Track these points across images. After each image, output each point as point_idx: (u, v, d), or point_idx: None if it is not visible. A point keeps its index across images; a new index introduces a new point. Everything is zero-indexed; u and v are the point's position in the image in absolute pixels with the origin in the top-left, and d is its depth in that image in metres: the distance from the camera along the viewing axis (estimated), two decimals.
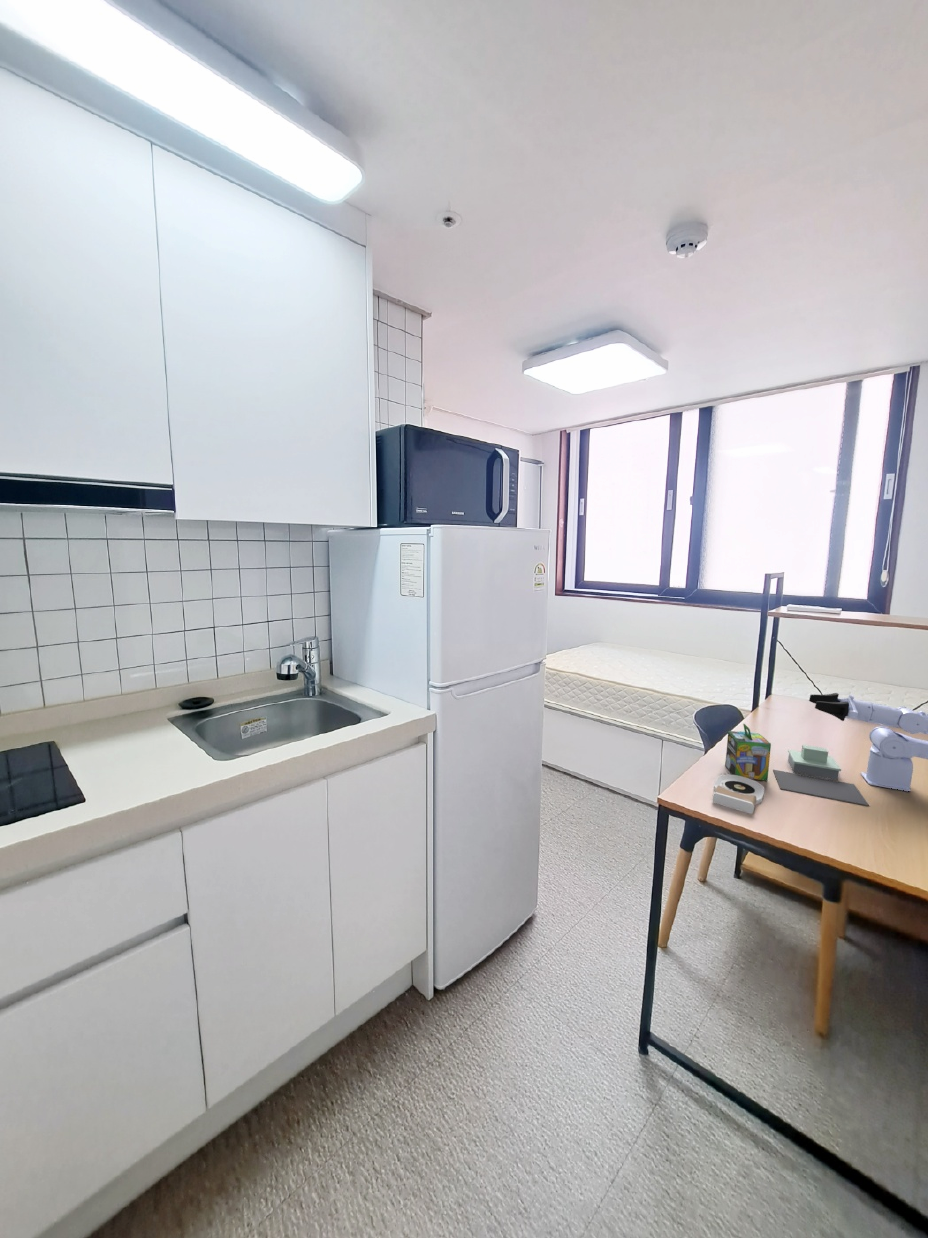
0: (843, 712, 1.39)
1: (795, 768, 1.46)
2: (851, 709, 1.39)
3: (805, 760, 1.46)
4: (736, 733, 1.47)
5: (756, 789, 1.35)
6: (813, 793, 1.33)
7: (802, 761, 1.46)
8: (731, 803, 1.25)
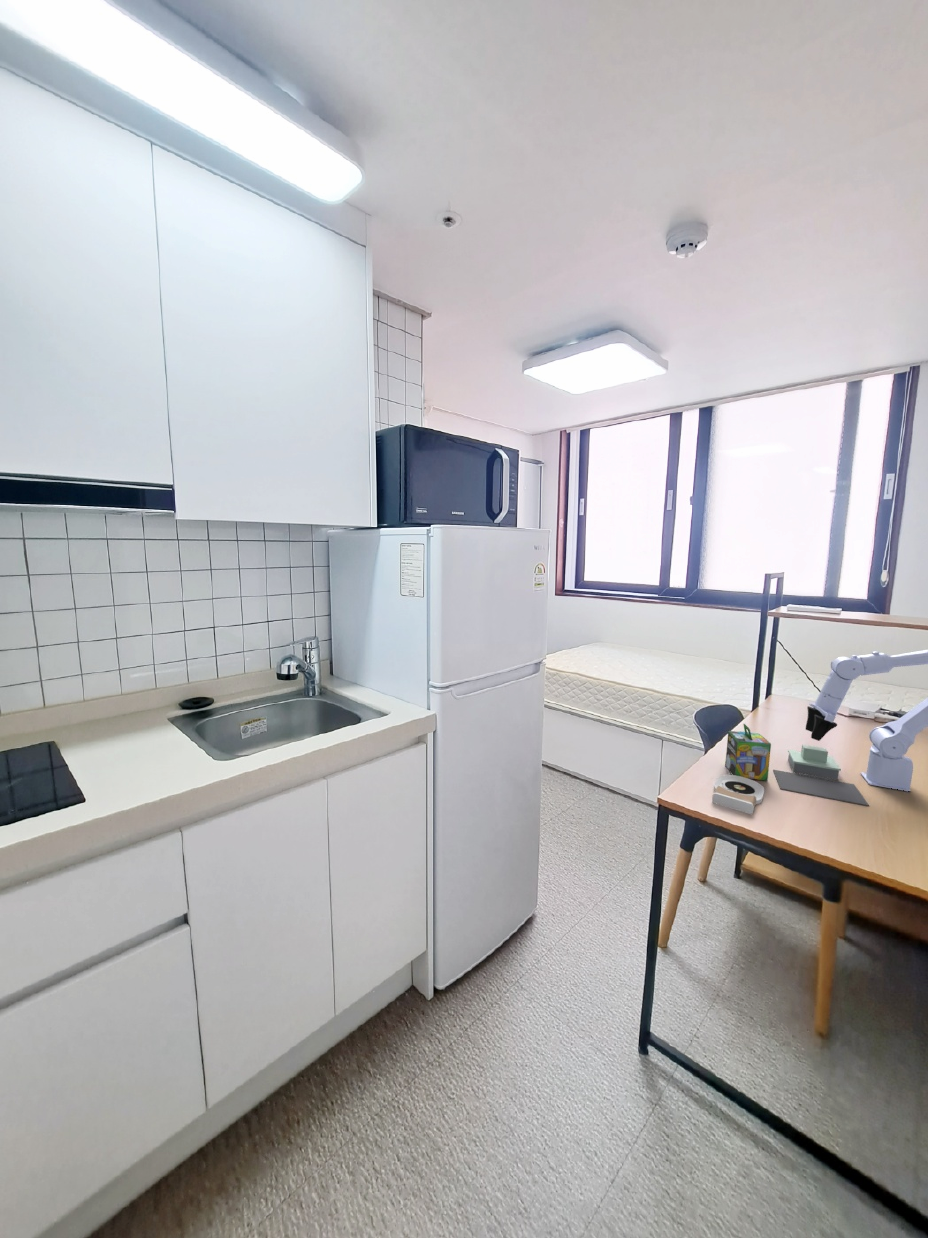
0: None
1: (795, 768, 1.46)
2: None
3: (805, 760, 1.47)
4: (736, 733, 1.47)
5: (756, 789, 1.35)
6: (813, 793, 1.33)
7: (802, 761, 1.46)
8: (731, 803, 1.25)
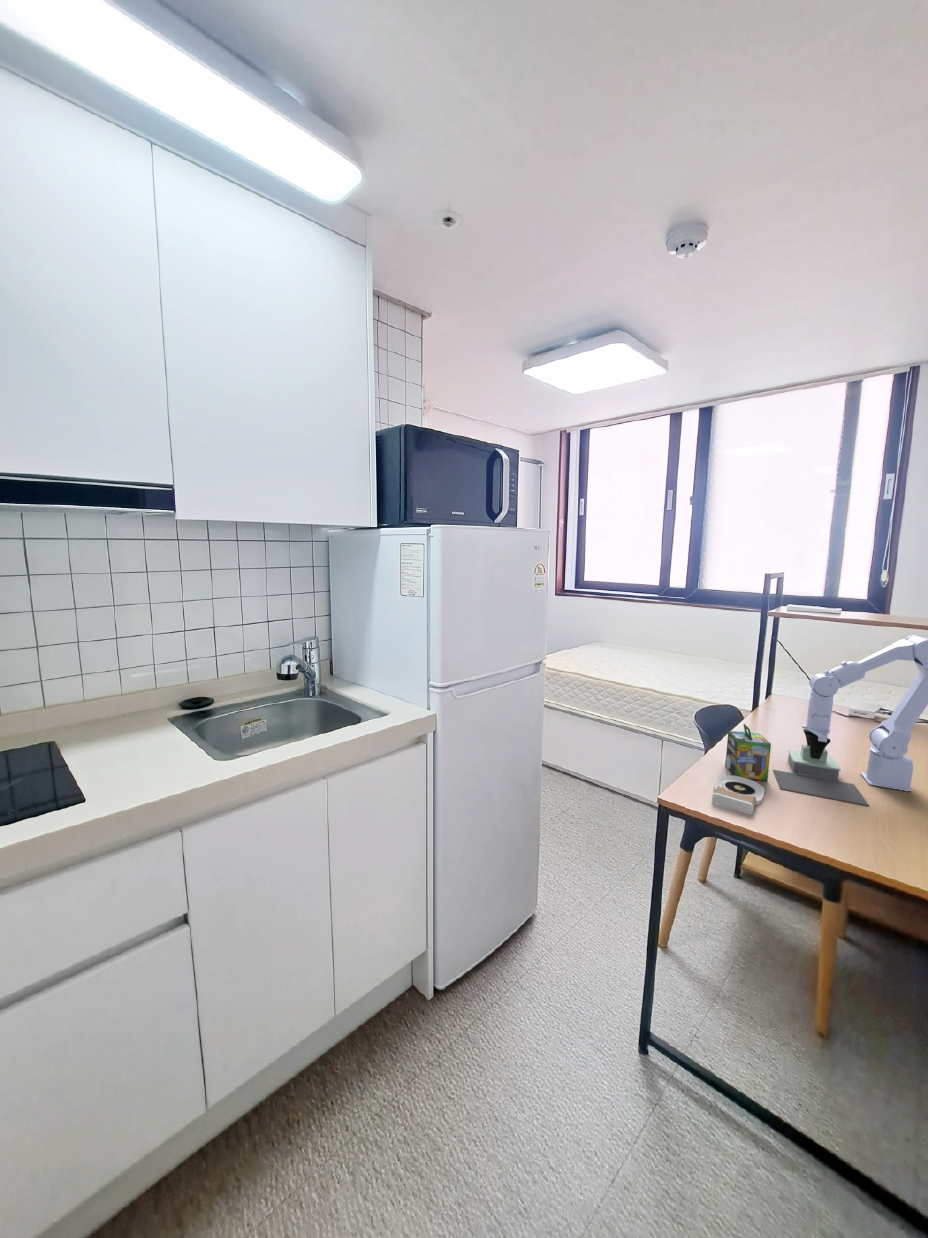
0: None
1: (795, 768, 1.46)
2: None
3: (804, 760, 1.47)
4: (736, 733, 1.47)
5: (756, 790, 1.35)
6: (813, 793, 1.33)
7: (801, 761, 1.46)
8: (731, 804, 1.25)
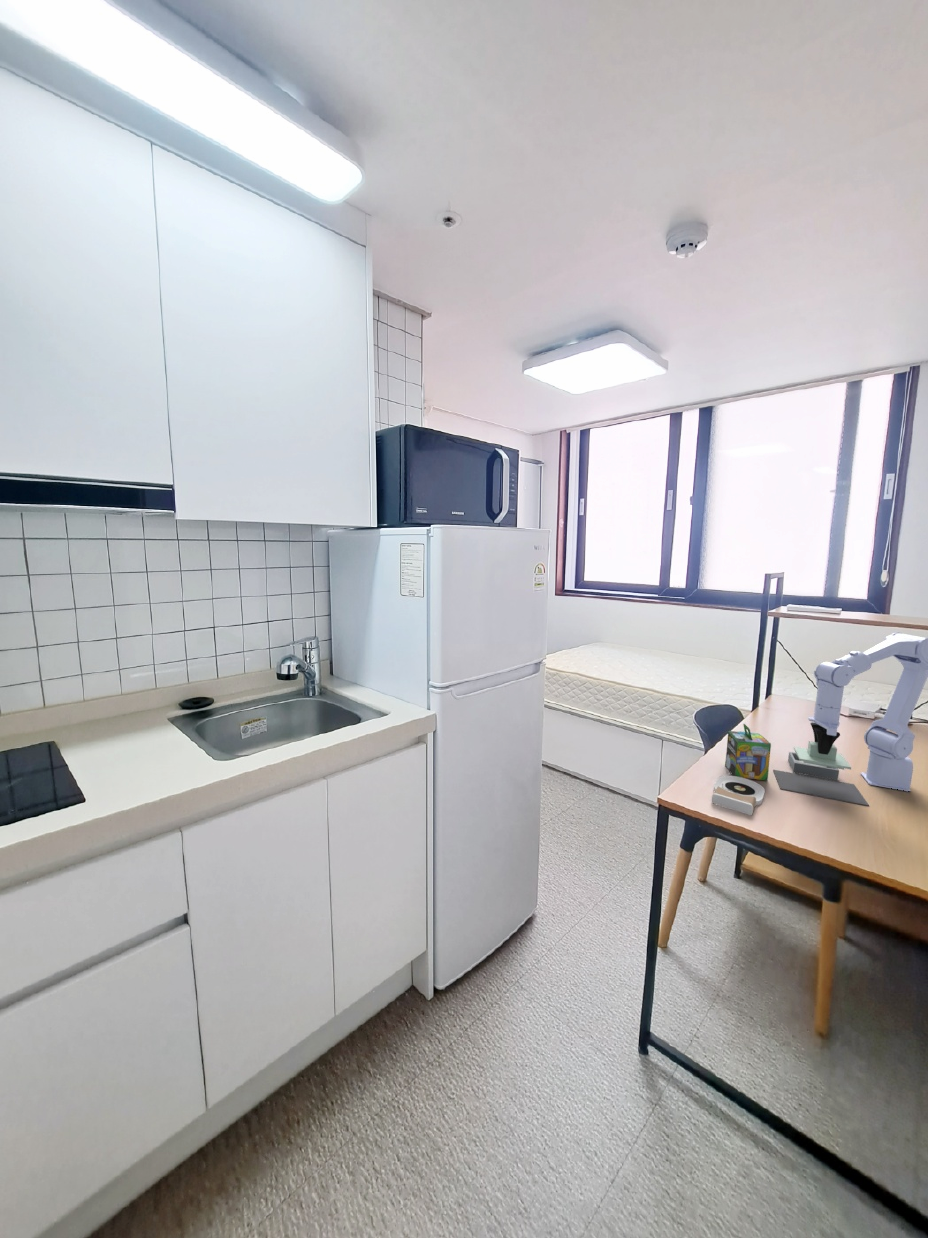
0: None
1: (795, 768, 1.46)
2: None
3: (812, 758, 1.36)
4: (736, 733, 1.47)
5: (756, 790, 1.34)
6: (813, 793, 1.33)
7: (808, 758, 1.35)
8: (730, 804, 1.25)
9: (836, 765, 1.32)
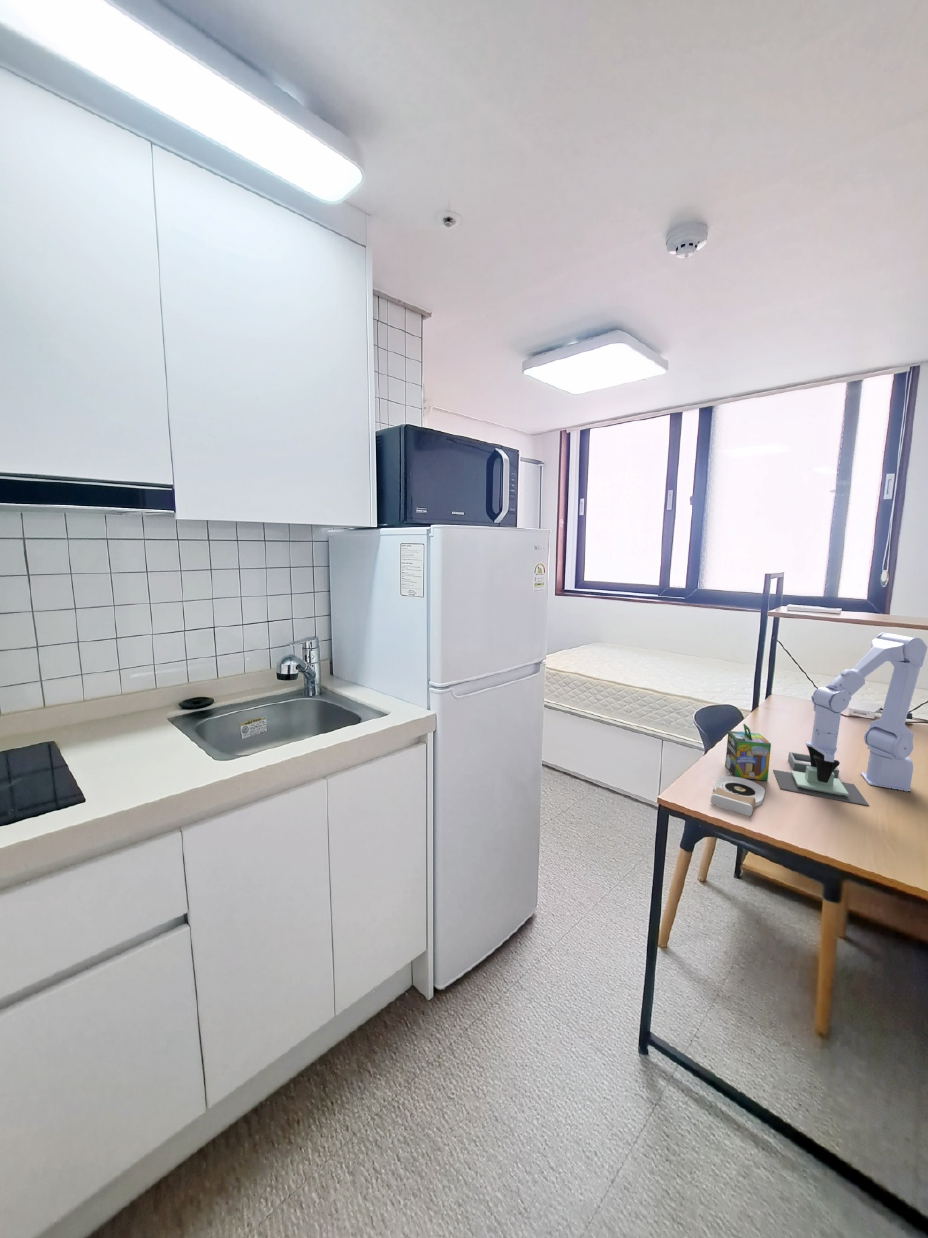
0: None
1: (795, 768, 1.46)
2: None
3: (809, 783, 1.36)
4: (736, 733, 1.47)
5: (757, 791, 1.34)
6: (813, 793, 1.33)
7: (806, 784, 1.36)
8: (729, 805, 1.24)
9: (833, 791, 1.32)
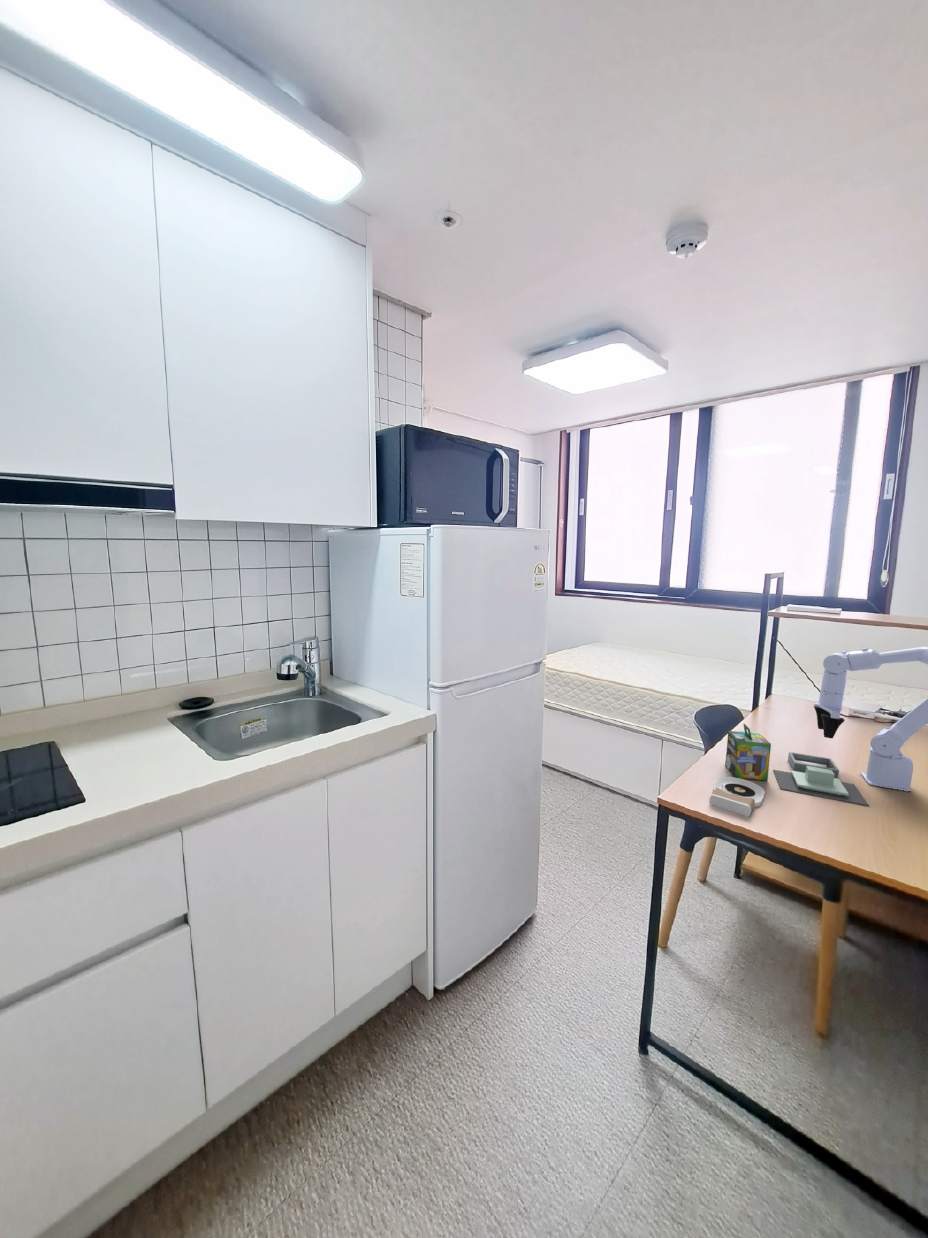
0: None
1: (795, 768, 1.46)
2: None
3: (809, 783, 1.36)
4: (736, 733, 1.47)
5: (757, 792, 1.33)
6: (813, 793, 1.33)
7: (806, 784, 1.36)
8: (728, 805, 1.24)
9: (833, 791, 1.32)
